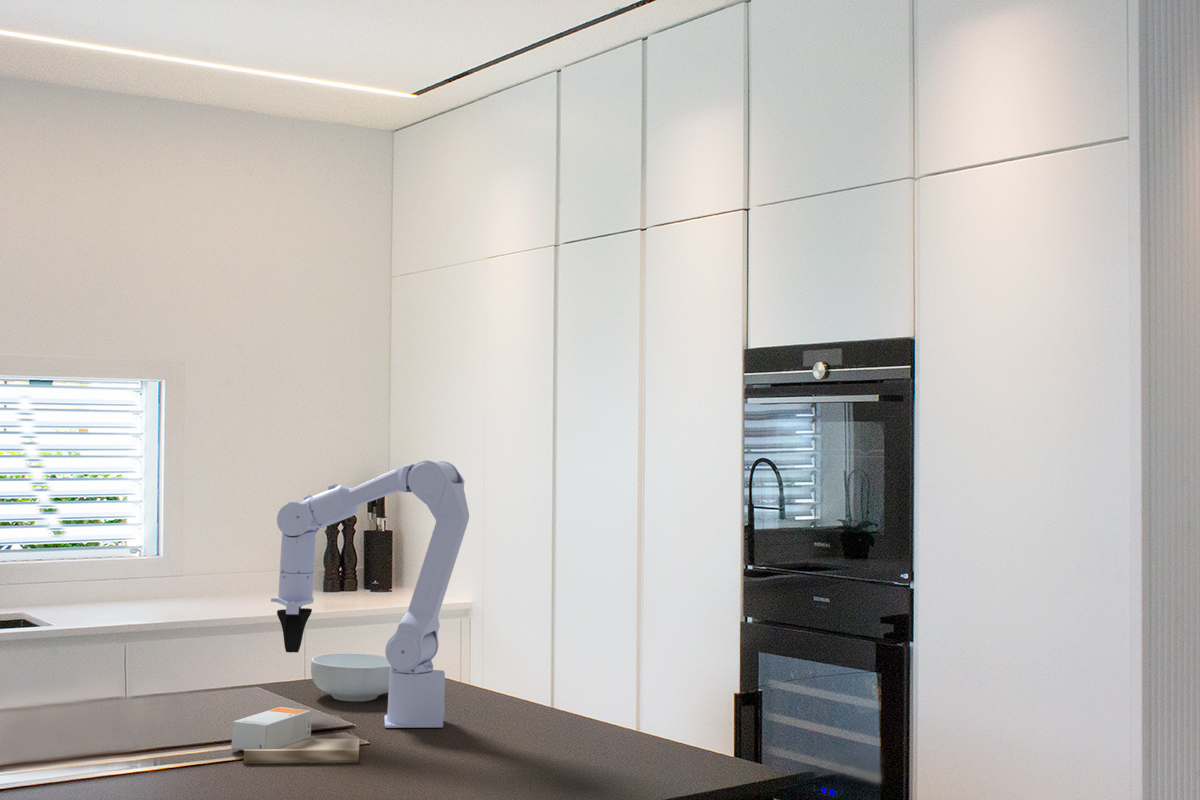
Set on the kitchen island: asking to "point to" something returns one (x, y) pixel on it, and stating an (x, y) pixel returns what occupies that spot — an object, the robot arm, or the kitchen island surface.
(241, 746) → the skincare box
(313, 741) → the gold metal board
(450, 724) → the kitchen island surface
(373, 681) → the cereal bowl
